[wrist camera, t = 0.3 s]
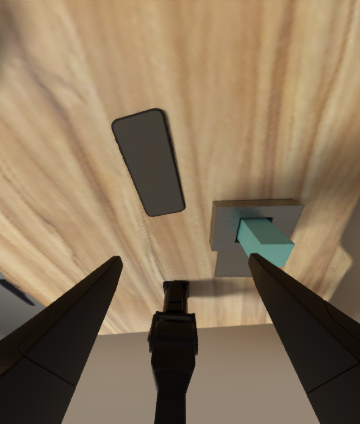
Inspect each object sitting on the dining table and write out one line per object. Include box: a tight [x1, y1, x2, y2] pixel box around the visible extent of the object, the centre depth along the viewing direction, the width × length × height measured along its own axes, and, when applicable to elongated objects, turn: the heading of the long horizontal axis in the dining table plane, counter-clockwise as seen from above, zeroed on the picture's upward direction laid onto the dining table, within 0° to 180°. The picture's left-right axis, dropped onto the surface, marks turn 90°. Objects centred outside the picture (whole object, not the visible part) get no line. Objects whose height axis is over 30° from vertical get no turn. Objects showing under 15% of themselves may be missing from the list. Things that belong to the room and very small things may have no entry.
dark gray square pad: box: [215, 251, 252, 277], centre depth 28 cm, size 9×9×1 cm
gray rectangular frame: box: [209, 199, 305, 251], centre depth 22 cm, size 9×13×2 cm
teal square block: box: [236, 217, 295, 267], centre depth 20 cm, size 4×4×8 cm
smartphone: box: [111, 108, 185, 217], centre depth 20 cm, size 7×1×15 cm
